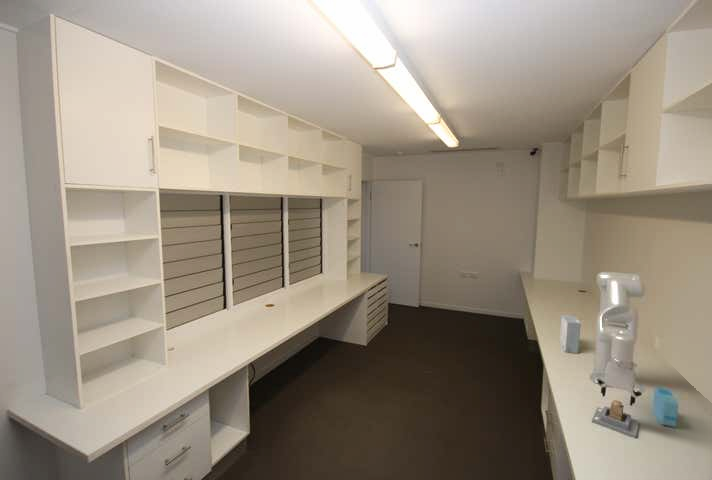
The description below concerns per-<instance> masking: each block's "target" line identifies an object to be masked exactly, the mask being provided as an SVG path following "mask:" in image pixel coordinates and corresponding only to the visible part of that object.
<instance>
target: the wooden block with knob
mask: <svg viewBox="0 0 712 480" xmlns="http://www.w3.org/2000/svg"><path fill="white" fill-rule="evenodd" d="M624 406H625V405H623V403H622V401H619V400H616V399H614V400H612V402H611V404H610V407H609V408H610V417H611V418H613V419H616V420H619V421H622V418H623V413H624Z"/></svg>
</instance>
